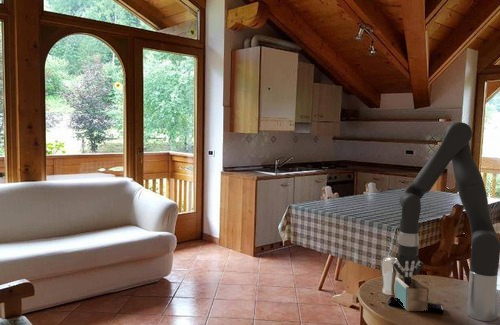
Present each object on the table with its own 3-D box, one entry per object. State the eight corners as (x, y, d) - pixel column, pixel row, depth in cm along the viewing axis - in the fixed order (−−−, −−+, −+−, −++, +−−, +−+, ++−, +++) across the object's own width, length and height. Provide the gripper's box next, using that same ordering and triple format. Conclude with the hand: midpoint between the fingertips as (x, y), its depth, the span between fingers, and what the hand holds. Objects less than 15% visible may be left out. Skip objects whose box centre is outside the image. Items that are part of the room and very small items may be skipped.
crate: (413, 299, 173) (414, 278, 172) (427, 311, 161) (428, 289, 160) (394, 299, 172) (395, 278, 171) (407, 311, 160) (408, 289, 160)
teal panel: (398, 298, 171) (398, 277, 170) (408, 309, 161) (408, 286, 160) (395, 299, 171) (395, 277, 170) (405, 309, 161) (405, 286, 160)
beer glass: (395, 297, 174) (396, 262, 172) (378, 293, 178) (380, 259, 177) (400, 292, 179) (401, 259, 178) (384, 288, 183) (385, 255, 182)
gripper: (396, 245, 160) (394, 289, 162) (429, 245, 161) (427, 288, 162) (388, 240, 168) (387, 282, 169) (420, 240, 168) (418, 281, 170)
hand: (406, 285), depth 166 cm, fingers closed
